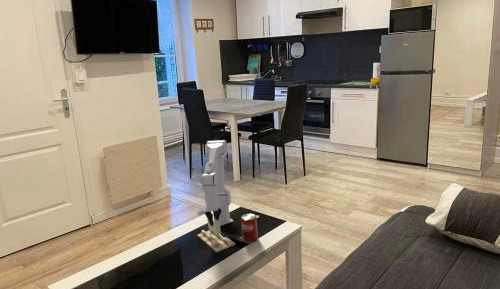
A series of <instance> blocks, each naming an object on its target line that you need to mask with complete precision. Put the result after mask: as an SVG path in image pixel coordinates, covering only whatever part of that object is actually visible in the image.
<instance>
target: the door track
mask: <svg viewBox="0 0 500 289" xmlns="http://www.w3.org/2000/svg"><path fill="white" fill-rule="evenodd" d="M197 237H198V238H199V240H202V241H203V242H204V243H205V244H206V245H208V247H210V249H212V250H213V251H214V252H215V253H218V252H221V251H223V250H226V249H228V248H230V247H233V246H235V245H236V243H235V242H234V241H232V239H230V238H228V237H227V236H226V237H223V236H222V235H221V234H216V233H214V232H213V231H212V230H210V229H209V228H208V230H207V231H205V230H204V229H202V230H201V232H200V233H198V234H197Z"/></svg>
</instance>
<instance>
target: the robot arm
mask: <svg viewBox="0 0 500 289" xmlns="http://www.w3.org/2000/svg"><path fill="white" fill-rule="evenodd" d="M205 148H206V152H207V154H208V161H207V162H206V163H205V167H204V172H203V174H202V175H201V178H200V182H201V186H202V191H203V193H204V201H205V206H204V207H203V208H201V209H198V210H196V211H197V215H198V216H202V215H205V216H206V218H208V220H209V223H210V225H211V226H213V217H214V218H215V219H217V220H218V221H220V227H221V226H224V225H227V224H230V223H233V222H234V220H233V219H232V218H231V214H230V205H231V203H232V196H231V191H230V190H229V188H226V186H225V184H226V183H225V182H226V181H225V167H224V165H225V163H224V159H225V156H227V154H228V145H227V140H225V139H223V140H207V142H206V144H205ZM208 220H207V221H208Z"/></svg>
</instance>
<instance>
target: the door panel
mask: <svg viewBox="0 0 500 289" xmlns="http://www.w3.org/2000/svg"><path fill="white" fill-rule="evenodd" d="M206 218H207V217H206ZM207 226H208V230H209V229H210V230H212V231H213V232H214V233H216V234H220V233H222V232H221V226H220V221H218V220H217V219H215V218H214V216H213V226H211V225H210V223H209V220H208V218H207ZM210 230H209V231H210Z"/></svg>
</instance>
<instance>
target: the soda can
mask: <svg viewBox="0 0 500 289" xmlns="http://www.w3.org/2000/svg"><path fill="white" fill-rule="evenodd" d="M257 221H258V220H257V215H256V214H253V213H246V214H242V216H241V217H240V223H241V224H240V225H241V234H242V236H241V237H242V241H243V242H244V243H247V244H253V243H256V242H257V241H258V240H259V235H258V222H257Z"/></svg>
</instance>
